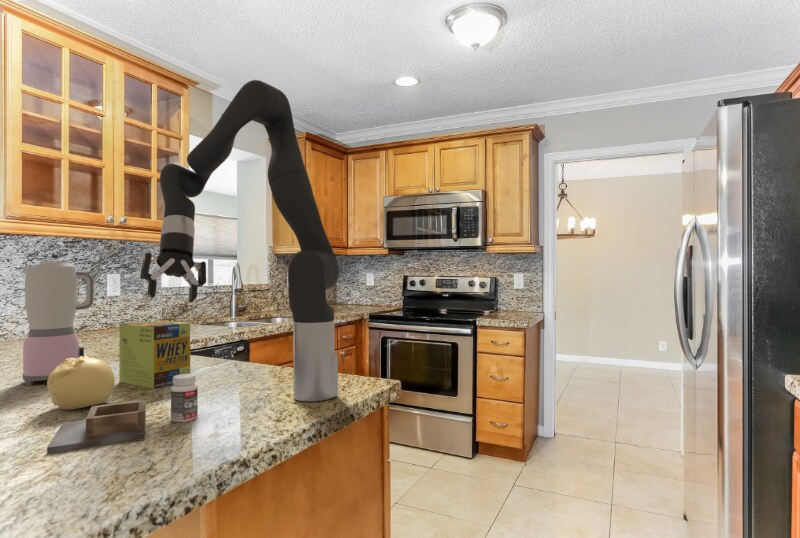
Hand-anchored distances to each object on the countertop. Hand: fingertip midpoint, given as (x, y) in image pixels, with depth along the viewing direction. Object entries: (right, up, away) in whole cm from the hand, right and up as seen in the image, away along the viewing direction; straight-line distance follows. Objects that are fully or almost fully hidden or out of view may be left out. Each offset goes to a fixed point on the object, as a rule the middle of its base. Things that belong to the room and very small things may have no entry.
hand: (172, 299), depth 110 cm
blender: (-39, -23, +16) cm, 48 cm away
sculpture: (-14, -23, -10) cm, 29 cm away
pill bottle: (+12, -22, -20) cm, 32 cm away
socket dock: (+1, -22, -28) cm, 36 cm away
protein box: (-10, -23, +12) cm, 28 cm away
